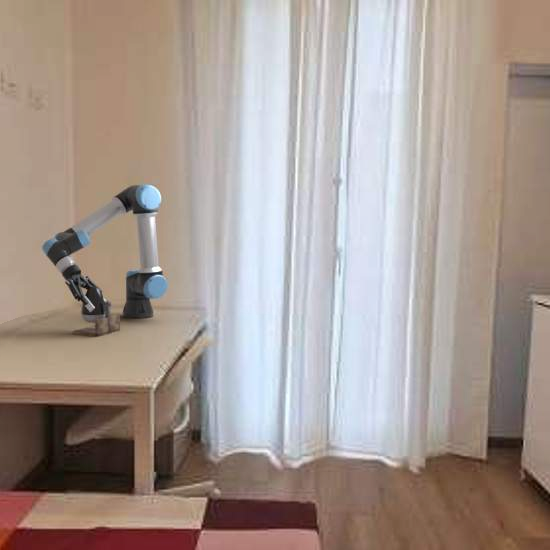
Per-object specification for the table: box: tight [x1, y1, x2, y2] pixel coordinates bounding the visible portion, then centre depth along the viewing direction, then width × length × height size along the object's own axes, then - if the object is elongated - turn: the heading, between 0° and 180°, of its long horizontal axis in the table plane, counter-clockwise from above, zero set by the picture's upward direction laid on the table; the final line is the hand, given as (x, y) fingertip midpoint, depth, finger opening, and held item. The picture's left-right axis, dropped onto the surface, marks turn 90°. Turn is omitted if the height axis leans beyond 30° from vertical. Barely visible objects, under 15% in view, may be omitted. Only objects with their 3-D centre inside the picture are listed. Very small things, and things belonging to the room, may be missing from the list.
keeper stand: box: [71, 300, 121, 337], centre depth 277 cm, size 16×14×14 cm
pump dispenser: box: [80, 286, 106, 324], centre depth 277 cm, size 10×10×15 cm
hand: (99, 308), depth 276 cm, fingers closed on pump dispenser, 10 cm apart
